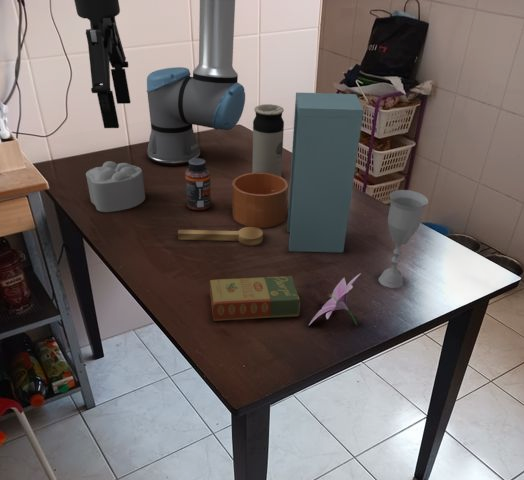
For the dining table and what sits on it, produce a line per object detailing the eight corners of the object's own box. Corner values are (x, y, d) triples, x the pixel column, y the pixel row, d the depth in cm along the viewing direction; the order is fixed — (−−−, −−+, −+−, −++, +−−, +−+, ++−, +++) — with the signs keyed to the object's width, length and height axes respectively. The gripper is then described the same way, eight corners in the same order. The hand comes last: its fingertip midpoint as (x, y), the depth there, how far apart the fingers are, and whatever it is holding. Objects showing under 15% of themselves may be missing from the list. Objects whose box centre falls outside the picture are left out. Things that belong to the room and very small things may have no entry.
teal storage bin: (287, 229, 126) (296, 92, 107) (338, 230, 127) (356, 94, 107) (288, 251, 119) (298, 107, 99) (343, 252, 119) (363, 109, 100)
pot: (233, 202, 136) (233, 171, 131) (285, 204, 137) (286, 173, 132) (231, 227, 127) (231, 194, 121) (287, 228, 127) (289, 196, 122)
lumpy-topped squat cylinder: (87, 197, 136) (81, 163, 131) (137, 187, 141) (133, 155, 136) (100, 214, 130) (94, 179, 124) (151, 203, 135) (148, 169, 129)
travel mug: (246, 177, 149) (246, 108, 137) (265, 169, 153) (267, 101, 142) (268, 185, 145) (270, 115, 133) (287, 176, 150) (291, 108, 138)
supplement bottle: (207, 212, 132) (205, 167, 124) (183, 210, 133) (180, 164, 125) (213, 202, 136) (212, 157, 129) (191, 199, 137) (188, 155, 130)
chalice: (367, 275, 112) (381, 192, 101) (394, 268, 115) (412, 187, 103) (386, 293, 107) (404, 209, 96) (415, 287, 109) (436, 203, 98)
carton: (210, 296, 105) (209, 277, 102) (291, 292, 107) (292, 273, 104) (213, 322, 99) (212, 303, 96) (299, 317, 101) (301, 298, 98)
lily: (347, 301, 107) (328, 261, 102) (393, 308, 97) (374, 265, 93) (308, 340, 103) (286, 301, 98) (352, 352, 93) (330, 310, 89)
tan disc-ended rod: (177, 244, 120) (176, 237, 119) (180, 231, 124) (179, 225, 123) (262, 245, 120) (263, 239, 119) (262, 233, 125) (263, 226, 124)
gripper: (101, 3, 85) (126, 138, 100) (127, -24, 103) (145, 93, 118) (53, 4, 85) (85, 139, 100) (88, -23, 103) (111, 94, 118)
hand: (118, 114), depth 109 cm, fingers open, 13 cm apart
